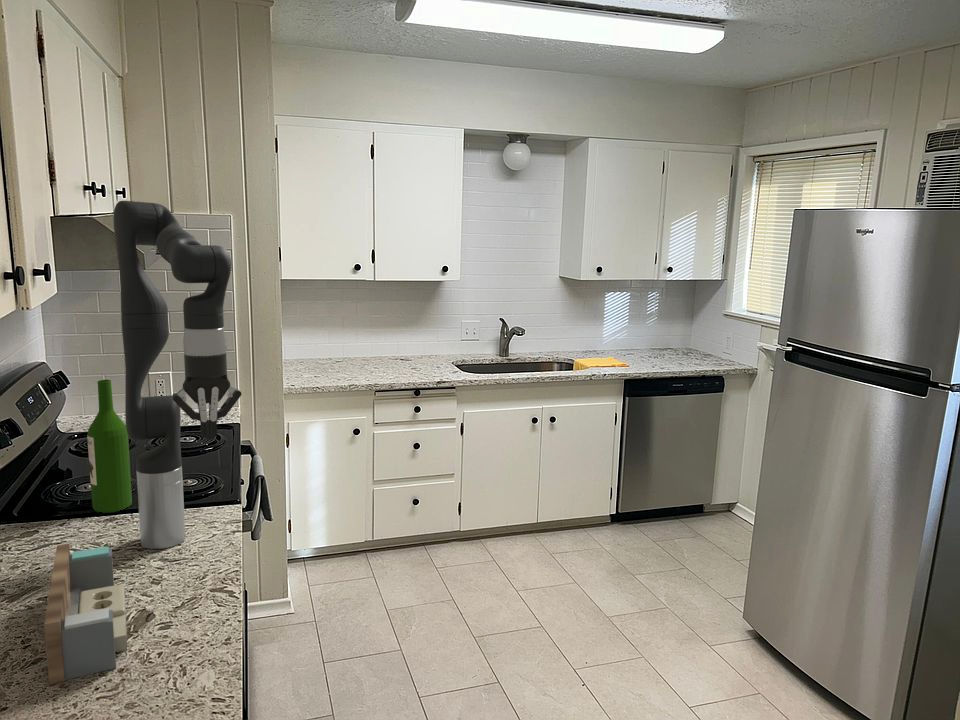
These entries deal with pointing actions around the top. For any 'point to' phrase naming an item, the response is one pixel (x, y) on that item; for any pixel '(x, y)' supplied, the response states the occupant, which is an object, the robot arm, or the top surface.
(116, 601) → the electrical outlet
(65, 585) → the mounting panel
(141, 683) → the top surface
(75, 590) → the metal rail
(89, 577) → the module
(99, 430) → the wine bottle
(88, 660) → the block
